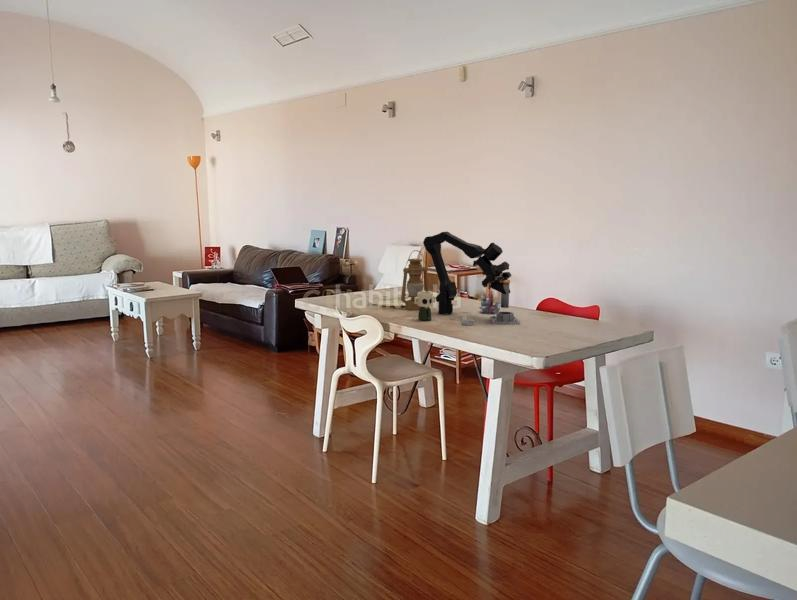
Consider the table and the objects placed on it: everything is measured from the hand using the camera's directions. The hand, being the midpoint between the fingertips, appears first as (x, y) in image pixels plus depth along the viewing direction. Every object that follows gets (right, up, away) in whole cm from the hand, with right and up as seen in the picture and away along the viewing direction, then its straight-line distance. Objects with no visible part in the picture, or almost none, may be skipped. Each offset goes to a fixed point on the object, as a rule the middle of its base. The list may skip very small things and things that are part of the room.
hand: (507, 293), depth 294 cm
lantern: (-42, -8, +37) cm, 56 cm away
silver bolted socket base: (-1, -13, +3) cm, 14 cm away
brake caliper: (-5, -9, +27) cm, 29 cm away
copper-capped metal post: (-1, -6, +2) cm, 7 cm away
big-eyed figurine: (-38, -13, +7) cm, 40 cm away
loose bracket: (-19, -14, -2) cm, 24 cm away
